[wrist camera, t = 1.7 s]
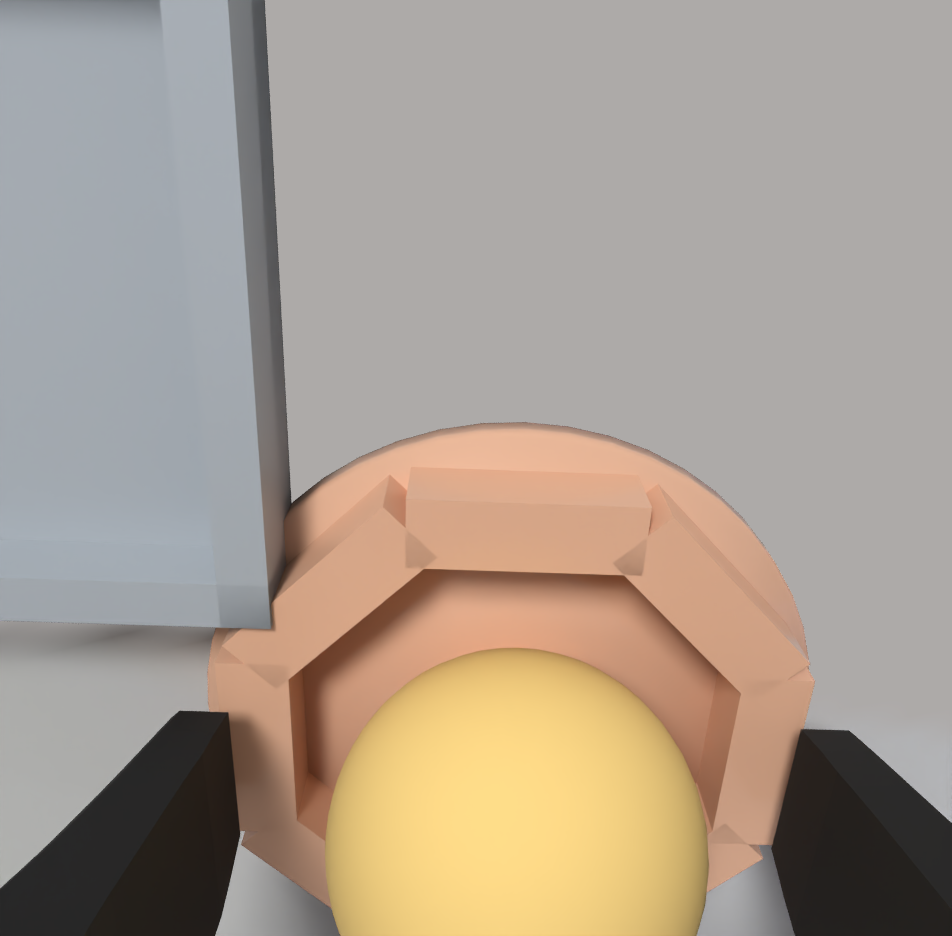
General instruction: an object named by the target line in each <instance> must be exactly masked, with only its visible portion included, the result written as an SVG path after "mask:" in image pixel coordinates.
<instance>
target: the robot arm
mask: <svg viewBox="0 0 952 936" xmlns="http://www.w3.org/2000/svg"><path fill="white" fill-rule="evenodd" d="M239 838H240V826H239V816H238V805H237V795H236V785H235V775H234V764H233V754H232V744H231V733H230V723H229V713H228V712H203V711H179V712H178V713H176V714H175V715H174V716H173V717H172V718H171V719H170V720H169V721H168V722H167V723H166V724H165V725H164V726H163V727H162V728H161V729H160V730H159V731H158V732H157V734H156V735H155V736H154V737H153V738H152V739H151V740H150V741H149V742H148V743H147V744H146V745H145V746H144V747H143V748H142V750H141V751H140V752H139V753H138V754H137V755H136V756H135V757H134V758H133V759H132V760H131V761H130V762H129V763H128V764H127V765H126V766H125V767H124V769H123V770H122V771H121V772H120V773H119V774H118V775H117V776H116V777H115V778H114V779H113V780H112V781H111V782H110V783H109V784H108V785H107V786H106V787H105V788H104V789H103V790H102V791H101V792H100V793H99V794H98V795H97V796H96V797H95V798H94V799H93V800H92V801H91V802H90V803H89V804H88V805H87V806H86V807H85V808H84V809H83V810H82V811H81V812H80V813H79V814H78V815H77V816H76V817H75V818H74V819H73V820H72V821H71V822H70V823H69V824H68V825H67V826H66V827H65V828H64V829H63V830H62V831H61V832H60V833H59V834H58V835H57V836H56V837H55V838H54V839H53V840H52V841H51V842H50V843H49V844H48V845H47V846H46V847H45V848H44V849H43V850H42V851H41V852H40V853H39V854H38V855H36V856H35V857H34V858H33V859H32V860H31V861H30V862H29V863H28V864H27V865H26V866H24V867H23V868H22V869H21V870H20V871H19V872H18V873H17V874H16V875H15V876H13V877H12V878H11V879H10V880H9V881H8V882H7V883H6V884H5V885H4V886H3V887H1V888H0V936H215V934H216V931H217V928H218V925H219V922H220V919H221V916H222V912H223V908H224V903H225V899H226V895H227V891H228V887H229V883H230V878H231V874H232V869H233V865H234V860H235V856H236V851H237V847H238V842H239ZM772 852H773V856H774V860H775V864H776V868H777V872H778V876H779V880H780V884H781V887H782V891H783V895H784V899H785V902H786V906H787V909H788V913H789V916H790V920H791V923H792V927H793V930H794V933H795V936H952V823H951V822H950V821H949V820H948V819H946V818H945V817H944V816H943V815H942V814H941V813H940V812H939V811H938V810H937V809H935V808H934V807H933V806H932V805H931V804H930V803H929V802H928V801H927V800H926V799H925V798H923V797H922V796H921V795H920V794H919V793H918V792H917V791H916V790H915V789H914V788H912V787H911V786H910V785H909V784H908V783H907V782H906V781H905V780H904V779H903V778H902V777H900V776H899V775H898V774H897V773H896V772H895V771H894V770H893V769H892V768H891V767H890V766H888V765H887V764H886V763H885V762H884V761H883V760H882V759H881V758H880V757H879V756H877V755H876V754H875V753H874V752H873V751H872V750H871V749H870V748H868V747H867V746H866V745H865V744H864V743H863V742H862V741H861V740H859V739H858V738H857V737H856V736H855V735H854V734H852V733H851V732H850V731H845V730H812V729H801V731H800V735H799V739H798V743H797V747H796V751H795V755H794V759H793V764H792V768H791V772H790V776H789V780H788V784H787V788H786V792H785V796H784V800H783V804H782V808H781V812H780V816H779V820H778V824H777V828H776V832H775V836H774V840H773V844H772Z"/></svg>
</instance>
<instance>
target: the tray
mask: <svg viewBox="0 0 952 936" xmlns="http://www.w3.org/2000/svg"><path fill="white" fill-rule="evenodd" d="M283 358H284V357H283V337H282V320H281V300H280V281H279V262H278V244H277V225H276V207H275V188H274V168H273V150H272V131H271V112H270V93H269V75H268V55H267V36H266V17H265V0H0V621H27V622H58V623H90V624H122V625H154V626H185V627H217V628H249V629H271V627H272V625H273V623H272V608H271V602H272V600H273V597H274V595H275V592H276V590H277V587H278V584H279V582H280V579H281V577H282V574H283V572H284V569H285V567H286V553H285V536H284V519H285V517H286V515H287V513H288V510H289V508H290V506H291V490H290V489H291V488H290V471H289V450H288V431H287V413H286V396H285V395H286V394H285V376H284V359H283Z"/></svg>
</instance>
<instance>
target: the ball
mask: <svg viewBox="0 0 952 936" xmlns="http://www.w3.org/2000/svg"><path fill="white" fill-rule="evenodd" d="M325 866H326V879H327V886H328V894H329V898H330V903H331V907H332V912H333V916H334V919H335V922H336V925H337V928H338V931H339V934H340V936H696V935H697V932H698V929H699V925H700V922H701V918H702V914H703V911H704V907H705V901H706V892H707V883H708V873H709V856H708V840H707V827H706V822H705V818H704V814H703V809H702V805H701V801H700V797H699V793H698V789H697V787H696V784H695V782H694V779H693V777H692V775H691V772H690V770H689V768H688V765H687V763H686V761H685V759H684V756H683V754H682V753H681V751H680V749H679V748H678V746H677V745H676V743H675V742H674V740H673V738H672V737H671V735H670V734H669V732H668V731H667V729H666V728H665V726H664V725H663V723H662V722H661V721H660V720H659V719H658V718H657V717H656V716H655V714H654V713H653V712H652V711H651V710H650V709H649V708H648V707H647V706H646V705H645V704H644V703H643V702H642V701H641V699H640V698H639V697H637V696H636V695H635V694H634V693H633V692H631V691H630V690H629V689H628V688H627V687H625V686H624V685H623V684H621V683H620V682H618V681H617V680H615V679H614V678H612V677H610V676H609V675H607V674H606V673H604V672H602V671H601V670H599V669H597V668H595V667H593V666H591V665H589V664H587V663H585V662H582V661H580V660H577V659H574V658H571V657H568V656H565V655H562V654H558V653H554V652H549V651H544V650H539V649H529V648H496V649H488V650H481V651H477V652H473V653H469V654H465V655H462V656H459V657H456V658H454V659H451V660H448V661H446V662H443V663H440V664H438V665H436V666H434V667H432V668H430V669H429V670H427V671H425V672H423V673H421V674H420V675H418V676H417V677H415V678H414V679H412V680H411V681H409V682H408V683H407V684H405V685H404V686H403V687H402V688H401V689H399V690H398V691H397V692H396V693H395V694H394V695H393V696H391V697H390V698H389V699H388V700H387V701H386V702H385V703H384V704H383V705H382V706H381V707H380V708H379V710H378V711H377V712H376V713H375V714H374V715H373V717H372V718H371V719H370V720H369V722H368V723H367V724H366V726H365V727H364V728H363V730H362V731H361V733H360V734H359V736H358V738H357V739H356V741H355V742H354V744H353V746H352V748H351V750H350V752H349V754H348V756H347V758H346V760H345V762H344V764H343V767H342V769H341V772H340V774H339V776H338V779H337V782H336V786H335V789H334V793H333V796H332V800H331V805H330V809H329V813H328V820H327V829H326V841H325Z"/></svg>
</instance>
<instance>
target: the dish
mask: <svg viewBox="0 0 952 936" xmlns="http://www.w3.org/2000/svg"><path fill="white" fill-rule="evenodd" d="M284 536H285V553H286V567H285V569H284V572H283V574H282V577H281V579H280V582H279V584H278V587H277V590H276V592H275V595H274V597H273V600H272V602H271V608H272V623H273V625H272V627H271V629H249V628H217V627H216V629H215V632H214V636H213V639H212V644H211V651H210V658H209V666H208V705H209V710H210V712H228V713H229V723H230V733H231V744H232V754H233V764H234V775H235V785H236V795H237V805H238V816H239V826H240V831H245V833H244V837H243V840H242V843H241V845H242V846H244V847H245V848H246V849H248V850H249V851H251V852H252V853H253V854H255V855H256V856H258V857H259V858H261V859H262V860H263V861H265V862H266V863H268V864H269V865H270V866H272V867H273V868H275V869H276V870H278V871H279V872H280V873H282V874H283V875H285V876H286V877H287V878H289V879H290V880H292V881H293V882H295V883H296V884H297V885H299V886H300V887H302V888H303V889H304V890H306V891H307V892H309V893H310V894H311V895H313V896H314V897H316V898H317V899H319V900H320V901H321V902H323V903H324V904H326V905H327V906H328V907H330V908H331V909H332V907H331V903H330V898H329V894H328V886H327V879H326V866H325V841H326V829H327V820H328V813H329V809H330V805H331V800H332V796H333V793H334V789H335V786H336V782H337V779H338V776H339V774H340V772H341V769H342V767H343V764H344V762H345V760H346V758H347V756H348V754H349V752H350V750H351V748H352V746H353V744H354V742H355V741H356V739H357V738H358V736H359V734H360V733H361V731H362V730H363V728H364V727H365V726H366V724H367V723H368V722H369V720H370V719H371V718H372V717H373V715H374V714H375V713H376V712H377V711H378V710H379V708H380V707H381V706H382V705H383V704H384V703H385V702H386V701H387V700H388V699H389V698H390V697H391V696H393V695H394V694H395V693H396V692H397V691H398V690H399V689H401V688H402V687H403V686H404V685H405V684H407V683H408V682H409V681H411V680H412V679H414V678H415V677H417V676H418V675H420V674H421V673H423V672H425V671H427V670H429V669H430V668H432V667H434V666H436V665H438V664H440V663H443V662H446V661H448V660H451V659H454V658H456V657H459V656H462V655H465V654H469V653H473V652H477V651H481V650H488V649H496V648H529V649H539V650H544V651H549V652H554V653H558V654H562V655H565V656H568V657H571V658H574V659H577V660H580V661H582V662H585V663H587V664H589V665H591V666H593V667H595V668H597V669H599V670H601V671H602V672H604V673H606V674H607V675H609V676H610V677H612V678H614V679H615V680H617V681H618V682H620V683H621V684H623V685H624V686H625V687H627V688H628V689H629V690H630V691H631V692H633V693H634V694H635V695H636V696H637V697H639V698H640V699H641V701H642V702H643V703H644V704H645V705H646V706H647V707H648V708H649V709H650V710H651V711H652V712H653V713H654V714H655V716H656V717H657V718H658V719H659V720H660V721H661V722H662V723H663V725H664V726H665V728H666V729H667V731H668V732H669V734H670V735H671V737H672V738H673V740H674V742H675V743H676V745H677V746H678V748H679V749H680V751H681V753H682V754H683V756H684V759H685V761H686V763H687V765H688V768H689V770H690V772H691V775H692V777H693V779H694V782H695V784H696V787H697V789H698V793H699V797H700V801H701V805H702V809H703V814H704V818H705V822H706V827H707V840H708V856H709V873H708V883H707V892H708V891H710V890H712V889H713V888H715V887H717V886H718V885H720V884H722V883H723V882H725V881H727V880H728V879H730V878H732V877H733V876H735V875H737V874H738V873H740V872H742V871H743V870H745V869H747V868H748V867H750V866H752V865H753V864H755V863H757V862H758V861H760V860H762V859H763V856H762V854H761V851H760V848H759V846H758V845H772V844H773V840H774V836H775V832H776V828H777V824H778V820H779V816H780V812H781V808H782V804H783V800H784V796H785V792H786V788H787V784H788V780H789V776H790V772H791V768H792V764H793V759H794V755H795V751H796V747H797V743H798V739H799V735H800V731H801V729H803V728H804V724H805V720H806V716H807V712H808V708H809V704H810V700H811V696H812V692H813V687H814V684H815V681H814V679H813V677H812V675H811V674H810V672H809V665H810V662H809V659H808V652H807V646H806V640H805V634H804V628H803V625H802V622H801V619H800V616H799V613H798V610H797V607H796V604H795V601H794V599H793V595H792V593H791V591H790V590H789V588H788V586H787V584H786V582H785V580H784V579H783V577H782V575H781V573H780V571H779V569H778V567H777V566H776V564H775V562H774V561H773V559H772V557H771V556H770V554H769V553H768V551H767V550H766V548H765V547H764V545H763V544H762V542H761V541H760V540H759V539H758V537H757V536H756V535H755V533H754V532H753V531H752V529H751V528H750V527H749V525H748V524H747V523H746V521H745V520H744V519H743V517H742V516H741V515H740V514H739V513H737V512H736V511H735V510H734V509H733V508H732V507H731V506H730V505H729V504H728V503H727V502H726V501H725V500H724V499H723V498H722V497H721V496H720V495H719V494H718V493H717V492H716V491H714V490H713V489H711V488H710V487H709V486H707V485H706V484H704V483H703V482H702V481H700V480H699V479H698V478H696V477H695V476H693V475H692V474H691V473H689V472H688V471H686V470H685V469H683V468H681V467H679V466H678V465H676V464H674V463H672V462H670V461H668V460H666V459H664V458H662V457H661V456H659V455H657V454H655V453H653V452H651V451H649V450H647V449H644V448H641V447H638V446H636V445H633V444H630V443H627V442H625V441H622V440H619V439H617V438H613V437H611V436H608V435H603V434H599V433H594V432H590V431H585V430H581V429H577V428H572V427H568V426H557V425H547V424H537V423H527V422H517V423H481V424H474V425H467V426H461V427H454V428H447V429H440V430H436V431H432V432H429V433H425V434H422V435H418V436H414V437H411V438H407V439H403V440H400V441H397V442H394V443H392V444H390V445H387V446H385V447H382V448H380V449H378V450H375V451H373V452H370V453H368V454H366V455H363V456H361V457H359V458H357V459H355V460H354V461H352V462H350V463H349V464H347V465H345V466H343V467H341V468H340V469H338V470H336V471H335V472H333V473H331V474H330V475H328V476H326V477H324V478H323V479H322V480H321V481H319V482H318V483H317V484H315V485H314V486H313V487H311V488H310V489H309V490H308V491H306V492H305V493H304V494H302V495H301V496H300V497H299V498H298V499H296V500H295V501H294V502H293V503H292V504H291V506H290V508H289V510H288V513H287V515H286V517H285V519H284ZM707 892H706V893H707Z"/></svg>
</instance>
